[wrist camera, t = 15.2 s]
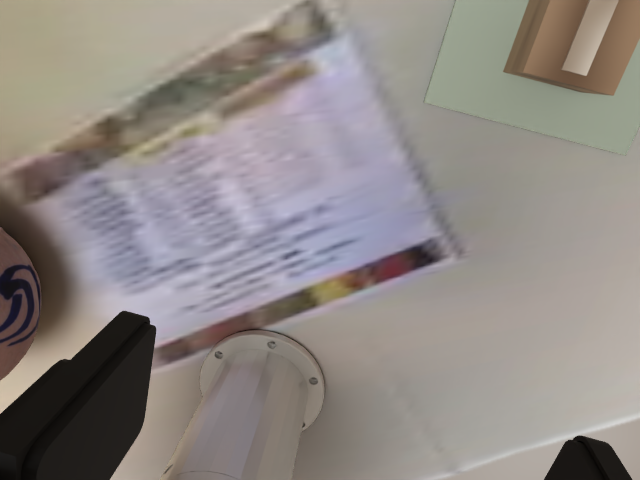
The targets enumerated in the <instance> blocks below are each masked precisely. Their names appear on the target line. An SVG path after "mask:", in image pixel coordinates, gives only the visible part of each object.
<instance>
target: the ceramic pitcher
mask: <svg viewBox="0 0 640 480" xmlns="http://www.w3.org/2000/svg"><path fill="white" fill-rule="evenodd" d="M41 296H42V295H41V287H40V281H39V277H38V274H37V272H36V271H35V269H34V267H33V265H32V263H31V260H30V259H29V257H28V256H27V254H26V252H25V251H24V250H23V249H22V247H21V246H20V245H19V244H18V243H17V242H16V241H15V240H14V239H13V238H12V237H11V236H9V235H8V234H7V233H6V232H5V231H4V230H3V229H2V227H0V380H2V379H3V378H4V377H5V376H7V375H8V374H9V373H10V372H11V371H12V370H13V368H14V367H15V366H16V365H17V364H18V363H19V362H20V360H21V359H22V358H23V357H24V355H25V354H26V352H27V351H28V349H29V347H30V346H31V344H32V342H33V340H34V337H35V334H36V332H37V328H38V323H39V319H40V312H41Z"/></svg>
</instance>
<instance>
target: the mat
mask: <svg viewBox="0 0 640 480" xmlns="http://www.w3.org/2000/svg"><path fill="white" fill-rule="evenodd" d="M528 2H529V0H455V3H454V7H453V10H452V13H451V16H450V19H449V23H448V26H447V29H446V32H445V35H444V39H443V42H442V45H441V48H440V51H439V55H438V58H437V61H436V64H435V67H434V71H433V74H432V77H431V80H430V83H429V86H428V90H427V93H426V96H425V99H424V103H427V104H431V105H435V106H439V107H443V108H446V109H450V110H454V111H458V112H462V113H465V114H469V115H473V116H477V117H481V118H484V119H488V120H492V121H496V122H500V123H503V124H507V125H511V126H515V127H519V128H522V129H526V130H530V131H534V132H538V133H541V134H545V135H549V136H553V137H557V138H560V139H564V140H568V141H572V142H576V143H579V144H583V145H587V146H591V147H595V148H599V149H602V150H606V151H610V152H614V153H618V154H621V155H625V156H626V153H627V151H628V149H629V147H630V145H631V143H632V141H633V139H634V137H635V135H636V133H637V131H638V129H639V127H640V39H639V41H638V43H637V45H636V47H635V50H634V52H633V54H632V56H631V58H630V61H629V63H628V65H627V67H626V69H625V72H624V74H623V76H622V78H621V80H620V83H619V85H618V87H617V89H616V91H615V94H614V96H611V95H601V94H592V93H582V92H578V91H574V90H570V89H566V88H562V87H559V86H555V85H551V84H547V83H543V82H539V81H536V80H532V79H528V78H524V77H520V76H516V75H513V74H509V73H505V72H503V70H504V68H505V65H506V62H507V59H508V57H509V54H510V51H511V48H512V46H513V43H514V40H515V37H516V35H517V32H518V29H519V26H520V24H521V21H522V18H523V15H524V13H525V10H526V7H527V4H528Z"/></svg>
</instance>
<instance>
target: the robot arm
mask: <svg viewBox="0 0 640 480" xmlns="http://www.w3.org/2000/svg"><path fill="white" fill-rule="evenodd" d="M155 336H156V327H155V326H153V325H150V320H149V318H148V317H146V316H142V315H138V314H135V313H131V312H127V311H122V312H120V313H119V314H118V315H117V316H116V317H115V318H114V319H113V320H112V321H111V322H110V323H109V324H108V325H107V326H106V327H104V328H103V329H102V330H101V331H100V332H99V333H98V334H97V335H96V336H95V337H94V338H93V339H92V340H91V341H90V342H89V343H88V344H87V345H86V346H85V347H84V348H82V349H81V350H80V351H79V352H78V353H77V354H76V355H75V356H74V357H73V358H72V359H71V360H67V359H63V360H60V361H58V362H57V363H56V364H54V365H53V366H52V367H51V368H50V369H49V370H48V371H47V372H45V373H44V374H43V375H42V376H41V377H40V378H39V379H38V380H37V381H36V382H35V383H34V384H32V385H31V386H30V387H29V388H28V389H27V390H26V391H25V392H24V393H23V394H22V395H20V396H19V397H18V398H17V399H16V400H15V401H14V402H13V403H12V404H11V405H10V406H8V407H7V408H6V409H5V410H4V411H3V412H2V413H1V414H0V480H110V478H111V477H112V475H113V474H114V472H115V470H116V469H117V467H118V466H119V464H120V463H121V461H122V460H123V458H124V457H125V455H126V453H127V452H128V450H129V449H130V447H131V446H132V444H133V443H134V441H135V440H136V438H137V436H138V435H139V433H140V431H141V428H142V426H143V422H144V418H145V411H146V403H147V396H148V389H149V381H150V374H151V366H152V359H153V351H154V344H155ZM199 381H200V390H201V394H202V400H201V402H200V404H199V406H198V408H197V410H196V412H195V413H194V415H193V417H192V419H191V421H190V423H189V425H188V427H187V429H186V431H185V433H184V434H183V436H182V438H181V440H180V442H179V444H178V446H177V448H176V450H175V452H174V454H173V456H172V457H171V459H170V461H169V463H168V465H167V467H166V469H165V471H164V473H163V475H162V477H161V479H160V480H292V475H293V470H294V465H295V460H296V455H297V450H298V445H299V440H300V435H301V432H302V431H304V430H305V429H306V428H308V427H309V426H310V425H311V424H312V423H313V422H314V421H315V419H316V418H317V417H318V415H319V413H320V410H321V408H322V405H323V400H324V390H325V385H324V379H323V375H322V373H321V370H320V367H319V366H318V364H317V362H316V361H315V359H314V358H313V357H312V356H311V354H310V353H309V352H308V351H307V350H306V349H305V348H303V347H302V346H301V345H299V344H298V343H297V342H295V341H293V340H291V339H290V338H288V337H286V336H283V335H280V334H277V333H274V332H269V331H262V330H251V331H244V332H239V333H235V334H233V335H230V336H228V337H226V338H224V339H223V340H221V341H220V342H218V343H217V344H216V345H215V346H214V347H213V348H212V349H211V351H210V352H209V354H208V355H207V357H206V359H205V361H204V363H203V365H202V367H201V372H200V377H199ZM544 480H632V478H631V477H630V475H629V474H628V472H627V470H626V469H625V467H624V466H623V464H622V463H621V461H620V459H619V458H618V456H617V455H616V453H615V451H614V450H613V448H612V447H611V446H610V445H609V444H608V443H606V442H603V441H599V440H595V439H592V438H588V437H584V436H577V437H575V438H574V439H573V440H568V441H566V442H565V444H564V445H563V447H562V449H561V450H560V452H559V454H558V456H557V458H556V459H555V461H554V463H553V465H552V466H551V468H550V470H549V472H548V473H547V475H546V477H545V479H544Z"/></svg>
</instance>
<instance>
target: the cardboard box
mask: <svg viewBox="0 0 640 480" xmlns="http://www.w3.org/2000/svg"><path fill="white" fill-rule="evenodd" d="M639 39H640V0H529V2H528V4H527V7H526V10H525V13H524V15H523V18H522V21H521V24H520V26H519V29H518V32H517V35H516V37H515V40H514V43H513V46H512V48H511V51H510V54H509V57H508V59H507V62H506V65H505V68H504V70H503V72H505V73H509V74H513V75H516V76H520V77H524V78H528V79H532V80H536V81H539V82H543V83H547V84H551V85H555V86H559V87H562V88H566V89H570V90H574V91H578V92H582V93H592V94H601V95H611V96H614V94H615V91H616V89H617V87H618V85H619V83H620V80H621V78H622V76H623V74H624V72H625V69H626V67H627V65H628V63H629V61H630V58H631V56H632V54H633V52H634V50H635V47H636V45H637V43H638V41H639Z"/></svg>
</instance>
